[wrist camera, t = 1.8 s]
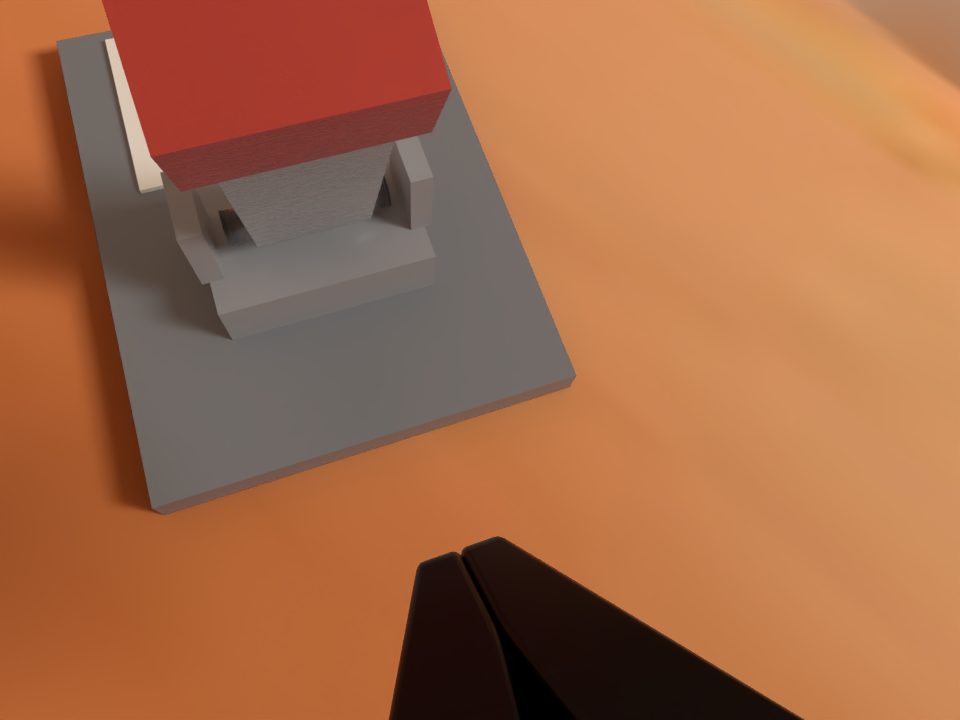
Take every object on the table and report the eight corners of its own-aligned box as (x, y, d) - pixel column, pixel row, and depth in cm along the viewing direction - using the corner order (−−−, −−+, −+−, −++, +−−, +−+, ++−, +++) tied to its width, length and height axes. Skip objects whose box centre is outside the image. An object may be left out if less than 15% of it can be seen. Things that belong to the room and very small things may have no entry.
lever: (394, 226, 21) (466, 85, 10) (238, 267, 20) (134, 160, 9) (374, 157, 21) (424, -60, 10) (215, 195, 20) (85, 2, 9)
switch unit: (569, 386, 23) (609, 319, 18) (163, 514, 20) (89, 475, 16) (409, -5, 28) (408, -137, 23) (69, 63, 25) (-8, -68, 21)
